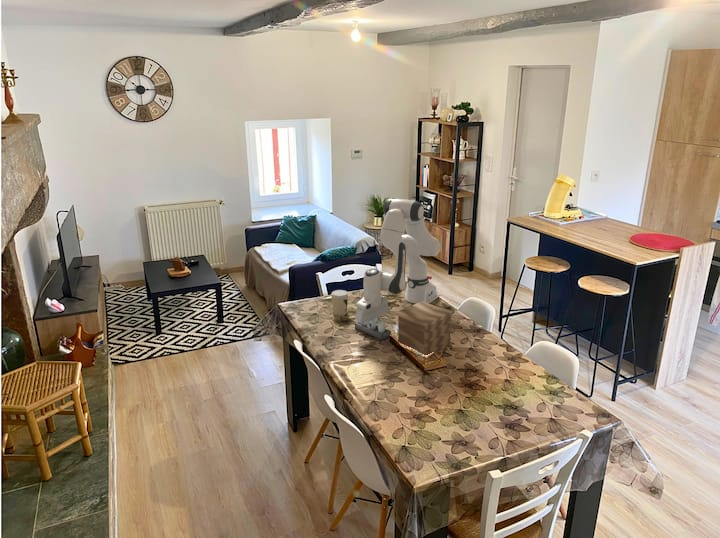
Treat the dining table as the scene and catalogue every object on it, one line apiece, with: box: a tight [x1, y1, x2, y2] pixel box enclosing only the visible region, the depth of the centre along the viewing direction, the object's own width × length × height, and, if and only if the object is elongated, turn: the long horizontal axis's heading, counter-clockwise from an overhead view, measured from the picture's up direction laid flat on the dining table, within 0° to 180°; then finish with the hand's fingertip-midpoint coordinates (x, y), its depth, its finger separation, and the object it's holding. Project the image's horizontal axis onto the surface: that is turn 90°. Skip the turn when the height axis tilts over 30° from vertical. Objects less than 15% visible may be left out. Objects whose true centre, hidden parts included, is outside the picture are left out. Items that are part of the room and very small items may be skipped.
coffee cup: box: [330, 289, 349, 316], centre depth 307 cm, size 9×9×12 cm
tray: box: [354, 317, 392, 342], centre depth 283 cm, size 6×20×8 cm, turn 43°
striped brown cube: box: [395, 301, 453, 355], centre depth 268 cm, size 19×19×18 cm
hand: (372, 325), depth 283 cm, fingers closed on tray, 4 cm apart
